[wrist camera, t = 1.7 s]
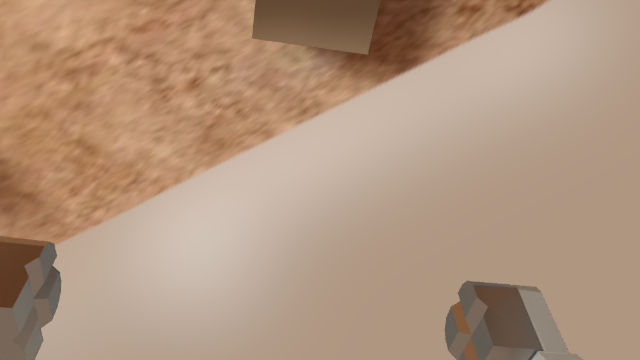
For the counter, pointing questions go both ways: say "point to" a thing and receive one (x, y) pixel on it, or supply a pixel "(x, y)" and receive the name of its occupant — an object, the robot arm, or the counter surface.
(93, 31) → the counter surface
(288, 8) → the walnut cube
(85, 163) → the counter surface
